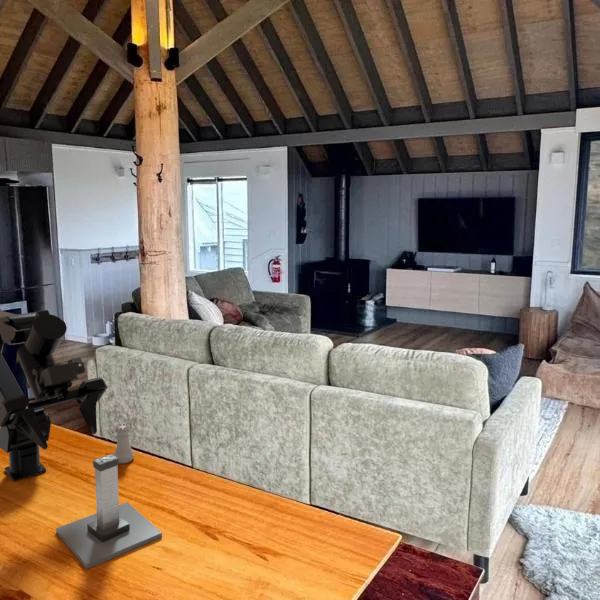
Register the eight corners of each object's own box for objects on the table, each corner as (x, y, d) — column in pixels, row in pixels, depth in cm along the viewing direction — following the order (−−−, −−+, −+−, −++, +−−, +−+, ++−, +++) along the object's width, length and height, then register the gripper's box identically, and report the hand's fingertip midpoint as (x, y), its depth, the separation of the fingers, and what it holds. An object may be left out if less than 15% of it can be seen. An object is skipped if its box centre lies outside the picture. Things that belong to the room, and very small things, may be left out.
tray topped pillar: (87, 530, 94) (84, 459, 92) (114, 518, 98) (111, 450, 96) (102, 542, 91) (99, 469, 89) (129, 530, 95) (127, 459, 93)
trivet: (56, 532, 95) (56, 528, 95) (127, 506, 104) (127, 502, 103) (86, 569, 86) (86, 564, 85) (161, 536, 94) (161, 532, 94)
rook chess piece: (127, 465, 120) (126, 430, 118) (109, 463, 121) (107, 428, 119) (137, 456, 124) (136, 422, 123) (119, 454, 125) (118, 420, 124)
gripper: (-2, 354, 93) (30, 434, 88) (100, 337, 107) (133, 405, 102) (-16, 388, 100) (13, 465, 95) (82, 367, 114) (112, 433, 108)
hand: (71, 440), depth 100 cm, fingers open, 9 cm apart
